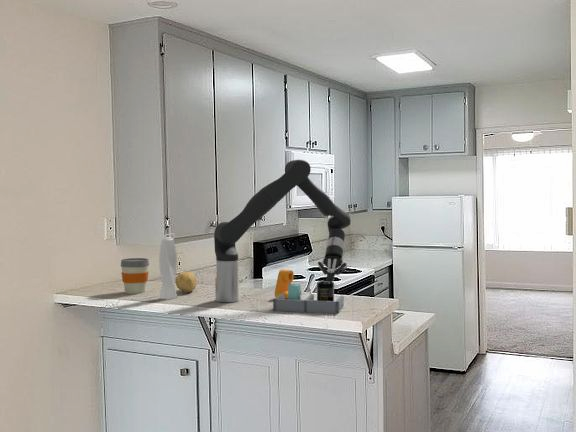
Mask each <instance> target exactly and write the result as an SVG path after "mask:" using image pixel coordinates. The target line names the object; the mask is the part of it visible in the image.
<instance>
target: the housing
mask: <svg viewBox="0 0 576 432" xmlns="http://www.w3.org/2000/svg"><path fill="white" fill-rule="evenodd" d="M301 287H302V285H301V284H298V283H291V284H289V285H288V299H286V298H285V293H281V294H280V295H279V296H277V297H274V298H273V299H272V301H273V302H272V310H273V311H275V312H295V313H296V312H299V313H300V312H301V313H321V314H322V313H323V314H339V313H340V312H341V311H342V309H343V308H344V307H343V306H345V305H344V303H345V302H344V298H345V296H344V295H339V297H338V298H337V299H336V300H334V301H317V299H316V300H314V298H315V294H311V293H310V295H308V296H307V297H306V298H305V299H301V295H302V290H301V289H302V288H301ZM340 310H341V311H340Z"/></svg>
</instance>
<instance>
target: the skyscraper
mask: <svg viewBox="0 0 576 432" xmlns="http://www.w3.org/2000/svg"><path fill="white" fill-rule="evenodd" d="M169 235H173V237H170V236H169ZM175 238H176V233H173V232H172V233H171V232H170V233H166V234H164V235H163V236H162V237H161V240H160V247H159V253H158V264H159V265H158V267H159V275H160V279H161V283H162V284H161V289H160V294H159V299H160V300H167V301H169V300H174V299H177V298H178V294H177V290H176V285H175V283H174V282H175V280H176V273H177V266H178V256H177V249H176V243H175Z"/></svg>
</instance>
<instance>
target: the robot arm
mask: <svg viewBox="0 0 576 432" xmlns="http://www.w3.org/2000/svg"><path fill="white" fill-rule="evenodd" d="M311 169H312V168H311V165H310V163H309V162H308V161H307V160H304V159H292V160H290V161H288V162H287V163H286V164H285V166H284V173H283V175H281V176H280V177H279V178H277V179H276V180H274V181H272V182H270V183H268V184H267V185H265V186H264V187H262V188H261V189H259V191H257V193H255V194H254V195H253V196H252V197H251V198H250V199H249V201H248V202H247V203H246V205H245V207H244V208H243V210H242V211H241V212H240V213H239V214H237V215H236V216H235V217H234V218H232V219H231V220H229V221H223V222H219V223H218V224H217V225H216V227H215V229H214V233H213V235H214V236H213V238H214V239H213V240H214V241H213V242H214V253H215V262H216V268H215V269H216V270H215V271H216V274H215V275H216V277H215V279H214V281H215V285H214V287H215V290H214V291H215V297H214V298H215V301H217V303H234V302H235V303H236V302H238V301H239V253H238V251H237V248H236V243H237V242H238V241H239V240H240V239H241V238H242V237H243V236H244V234H246V232H247V231H248V230H249V229H250V228H251V227H252V226H253V225H254V224H255V223H257V222H258V221H259V220H260V219H261V218H263V217H264V216H265V215H266V214H267V213H269V212H270V211H271V210H272V209H273V208H274V207H275V206H276V205H277V204H278V203H279V202H280V201H282V199H284V197H285V196H286V195H287V194H289V192H291V191H292V190H293V189H294V188H295V187H296V186H297V188H299V189H300V190H301V191H302V192H303V193H304V194H305V195H306V196H307V198H309V200H310V201H311V202H312V203H313V204H314V205H315V207H316V208H317V209H318V210H319V212H320V213H321V215H323V216H324V217H329V219H328V220H327V230H328V240H327V244H326V249H325V253H324V254H325V255H324V258H323V260H322V261H318V262H317V266H318V268H319V269H320V270H321V272H322V273H323V274H324V275H326V281H330V282H334V280H335V276H339V275H340V274H341V273H342V272H344V271H345V270H346V269H348V268H347V267H348V265H347V263H346V262H344V261H343V256H344V249H345V247H344V246H345V243H344V242H345V239H346V238H345V236H346V233H345V232H344V230H343V229H345V228H348V227H349V226H350V225H351V223H352V222H351V217H350V215H349V214H348V213H347V212H346V211H345V210H343V209H342V208H340V207H339V206H338V205H336V204H335V203H334V202H333V200H332V199H331V198H330V197H329V195H328V194H326V192H324V190H322V189H321V188H320V187H319V186H317V185H316V184H315V183H314V182H313V181H312V180H311V179H310V178H309V176H310V174H311ZM330 216H331V217H330Z"/></svg>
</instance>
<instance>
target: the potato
mask: <svg viewBox="0 0 576 432" xmlns="http://www.w3.org/2000/svg"><path fill="white" fill-rule="evenodd" d="M197 282H198V281H197V278H196V276H195V274H194V273H193V272H192V271H185V270H184V271H182V272H180V273H179V274H177V276H175V287H176V288H177V289H178V290H179V291H181V292H184V293H190V292H193V291H194V290H195V289H196V287H197V285H198V283H197Z"/></svg>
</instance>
